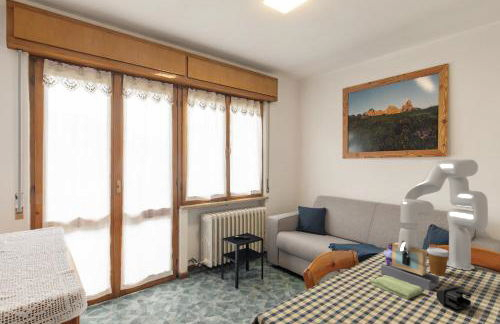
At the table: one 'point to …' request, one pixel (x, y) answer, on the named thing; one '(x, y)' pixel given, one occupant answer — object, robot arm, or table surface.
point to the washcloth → (397, 287)
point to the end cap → (454, 298)
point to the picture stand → (411, 277)
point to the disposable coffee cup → (437, 260)
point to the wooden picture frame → (416, 260)
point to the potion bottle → (388, 254)
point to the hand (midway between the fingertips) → (408, 263)
